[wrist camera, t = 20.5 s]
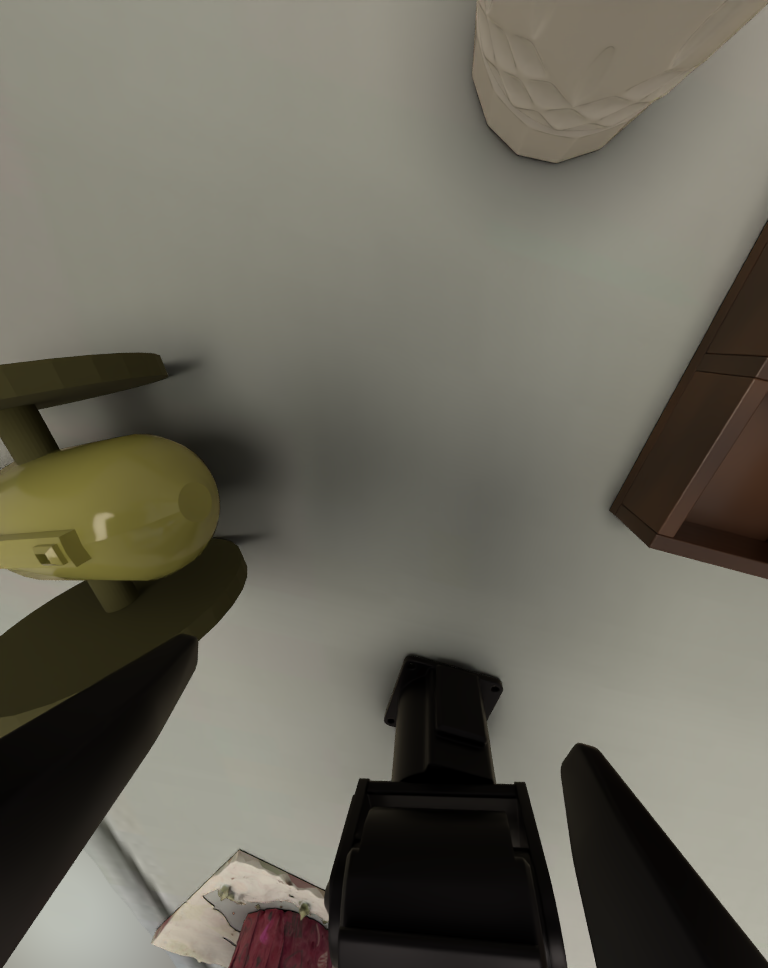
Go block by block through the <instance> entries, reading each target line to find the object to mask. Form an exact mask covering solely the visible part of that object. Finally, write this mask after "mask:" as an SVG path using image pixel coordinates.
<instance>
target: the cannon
mask: <svg viewBox="0 0 768 968" xmlns="http://www.w3.org/2000/svg"><path fill="white" fill-rule="evenodd" d="M167 377H168V374H167V371H166V369H165V366H164V364H163V362H162V359H161V357H160V355H157V354H153V353H113V354H98V355H85V356H74V357H64V358H54V359H44V360H36V361H28V362H19V363H11V364H3V365H0V437H1V439H2V441H3V442H4V444H5V446H6V447H7V449H8V451H9V452H10V454H11V456H12V457H13V459H14V462H13V463H11V464H9V465H8V466H6V467H5V468H3V469H2V470H1V471H0V569H8V570H10V571H12V572H14V573H17V574H19V575H22V576H24V577H29V578H33V579H38V580H85V581H83V582H81V583H80V584H78V585H76V586H74V587H72V588H71V589H69V590H67V591H65V592H64V593H62V594H60V595H59V596H57V597H55V598H53V599H52V600H50V601H49V602H47V603H46V604H44V605H43V606H41V607H40V608H38V609H37V610H35V611H33V612H32V613H30V614H29V615H28V616H26V617H25V618H24V619H22V620H21V621H20V622H18V623H17V624H15V625H14V626H13V627H11V628H10V629H9V630H7V631H6V632H5V633H4V634H3V635H2V636H0V738H1V737H3V736H5V735H7V734H8V733H10V732H12V731H13V730H15V729H17V728H18V727H20V726H22V725H24V724H25V723H27V722H29V721H30V720H32V719H34V718H36V717H37V716H39V715H41V714H42V713H44V712H46V711H48V710H49V709H51V708H53V707H54V706H56V705H58V704H59V703H61V702H63V701H65V700H66V699H68V698H70V697H71V696H73V695H75V694H77V693H78V692H80V691H82V690H83V689H85V688H87V687H88V686H90V685H92V684H94V683H95V682H97V681H99V680H100V679H102V678H104V677H106V676H107V675H109V674H111V673H112V672H114V671H116V670H118V669H119V668H121V667H123V666H124V665H126V664H128V663H129V662H131V661H133V660H135V659H136V658H138V657H140V656H141V655H143V654H145V653H147V652H148V651H150V650H152V649H153V648H155V647H157V646H159V645H160V644H162V643H164V642H165V641H167V640H169V639H170V638H172V637H174V636H176V635H178V634H181V633H183V634H187V635H191V636H195V637H197V639H198V641H199V640H200V639H201V638H202V637H203V636H205V635H206V634H207V633H208V632H209V631H210V630H211V629H212V628H213V627H214V626H215V625H216V624H217V623H218V622H219V621H220V620H221V619H222V617H223V616H224V615H225V614H226V613H227V611H228V610H229V609H230V608H231V607H232V606H233V604H234V603H235V601H236V599H237V598H238V596H239V595H240V593H241V591H242V590H243V587H244V584H245V581H246V578H247V565H246V563H245V560H244V558H243V555H242V553H241V551H240V549H239V547H238V546H237V545H236V544H234V543H233V542H231V541H227V540H224V539H212V537H213V536H214V534H215V531H216V527H217V524H218V519H219V513H220V498H219V492H218V489H217V485H216V482H215V480H214V478H213V476H212V474H211V472H210V470H209V468H208V467H207V466H206V464H205V463H204V461H203V460H202V459H201V458H200V457H199V456H198V455H197V454H196V453H194V452H193V451H191V450H190V449H188V448H187V447H185V446H183V445H181V444H179V443H176V442H174V441H172V440H169V439H167V438H165V437H161V436H157V435H152V434H132V435H127V436H122V437H117V438H112V439H107V440H102V441H97V442H92V443H87V444H82V445H77V446H72V447H67V448H62V449H59V447H58V445H57V443H56V442H55V440H54V438H53V436H52V434H51V433H50V431H49V429H48V427H47V425H46V424H45V422H44V420H43V418H42V416H41V414H40V413H39V411H38V410H39V409H44V408H48V407H53V406H58V405H62V404H67V403H71V402H76V401H80V400H85V399H89V398H93V397H98V396H102V395H106V394H111V393H115V392H119V391H123V390H127V389H131V388H135V387H139V386H142V385H146V384H149V383H153V382H156V381H159V380H162V379H165V378H167Z"/></svg>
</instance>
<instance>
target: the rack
mask: <svg viewBox="0 0 768 968" xmlns="http://www.w3.org/2000/svg"><path fill="white" fill-rule="evenodd" d="M610 511H611V512H612V513H613V514H614V515H615V516H616V517H617V518H618V519H619V520H620V521H621V522H623V523H624V524H625V525H626V526H627V527H628V528H629V529H630V530H631V531H632V532H633V533H634V534H635V535H636V536H637V537H638V538H639V539H641V540H642V541H643V542H644V543H645V544H646V545H647V546H648V547H649V548H653V549H657V550H660V551H664V552H668V553H672V554H675V555H679V556H683V557H687V558H690V559H694V560H698V561H702V562H705V563H709V564H713V565H717V566H720V567H724V568H728V569H732V570H735V571H739V572H743V573H747V574H751V575H754V576H758V577H762V578H766V579H768V222H767V223H766V225H765V227H764V229H763V231H762V233H761V234H760V236H759V238H758V240H757V242H756V243H755V245H754V247H753V249H752V251H751V253H750V254H749V256H748V258H747V260H746V262H745V264H744V265H743V267H742V269H741V271H740V273H739V275H738V276H737V278H736V280H735V282H734V284H733V286H732V287H731V289H730V291H729V293H728V295H727V296H726V298H725V300H724V302H723V304H722V306H721V307H720V309H719V311H718V313H717V315H716V317H715V318H714V320H713V322H712V324H711V326H710V328H709V329H708V331H707V333H706V335H705V337H704V339H703V340H702V342H701V344H700V346H699V348H698V350H697V351H696V353H695V355H694V357H693V359H692V360H691V362H690V364H689V366H688V368H687V370H686V371H685V373H684V375H683V377H682V379H681V381H680V382H679V384H678V386H677V388H676V390H675V392H674V393H673V395H672V397H671V399H670V401H669V403H668V404H667V406H666V408H665V410H664V412H663V413H662V415H661V417H660V419H659V421H658V423H657V424H656V426H655V428H654V430H653V432H652V434H651V435H650V437H649V439H648V441H647V443H646V445H645V446H644V448H643V450H642V452H641V454H640V456H639V457H638V459H637V461H636V463H635V465H634V466H633V468H632V470H631V472H630V474H629V476H628V477H627V479H626V481H625V483H624V485H623V487H622V488H621V490H620V492H619V494H618V496H617V498H616V499H615V501H614V503H613V505H612V507H611V509H610Z"/></svg>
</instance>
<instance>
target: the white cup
mask: <svg viewBox="0 0 768 968" xmlns="http://www.w3.org/2000/svg"><path fill="white" fill-rule="evenodd" d="M767 4H768V0H477V6H476V18H475V34H474V51H473V68H472V77H473V81H474V84H475V87H476V90H477V93H478V97H479V100H480V103H481V106H482V109H483V112H484V116H485V119H486V122H487V124H488V126H489V127H490V128H491V129H492V130H493V131H494V132H495V133H496V134H497V135H498V136H499V137H500V138H501V139H502V140H503V141H504V142H505V143H506V144H507V145H508V146H509V147H510V148H511V149H512V150H513V151H514V152H515V153H516V154H517V155H521V156H526V157H530V158H535V159H539V160H544V161H548V162H553V163H559V162H562V161H565V160H568V159H571V158H574V157H577V156H580V155H583V154H586V153H589V152H593V151H596V150H599V149H601V148H602V147H603V146H604V145H605V144H607V143H608V142H609V141H610V140H611V139H612V138H613V137H615V136H616V135H617V134H618V133H619V132H620V131H621V130H622V129H624V128H625V127H626V126H627V125H628V124H629V123H630V122H632V121H633V120H634V119H635V118H636V117H637V116H638V115H639V114H641V113H642V112H643V111H644V110H645V109H646V108H647V107H648V106H649V105H650V104H651V103H652V102H654V101H656V100H658V99H660V98H662V97H663V96H665V95H666V94H668V93H669V92H670V91H671V90H672V89H673V88H674V87H676V86H677V85H678V84H679V83H680V82H681V81H682V80H683V79H684V78H685V77H686V76H687V75H689V74H690V73H691V72H692V71H694V70H695V69H696V68H697V67H699V66H700V65H701V64H702V63H704V62H705V61H707V60H708V59H709V57H710V56H712V55H713V54H714V53H715V52H716V51H717V50H718V49H719V48H720V47H721V46H722V45H724V44H725V43H726V42H727V41H728V40H729V39H730V38H731V37H732V36H733V35H734V34H736V33H737V32H738V31H739V30H740V29H741V28H742V27H743V26H744V25H745V24H746V23H748V22H749V21H750V20H751V19H752V18H753V17H754V16H755V15H756V14H757V13H758V12H760V11H761V10H762V9H763V8H764V7H765V6H766V5H767Z"/></svg>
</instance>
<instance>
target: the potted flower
mask: <svg viewBox="0 0 768 968" xmlns="http://www.w3.org/2000/svg"><path fill="white" fill-rule="evenodd" d="M215 889H217V890H218V895H219V897H221V901H222V900H224V899H225V898H227V899H228V898H229V899H230V900H231V901H234V902H236V903H237V904H241V905H242V904H244V905H246V904H247V902H257V903H258V902H262V903H269V902H272V901H276V900H279V901H280V902H282V901H287V902H291V903H293V904H295V905H296V907H298V908H299V913H300V912H301V913H300V914H298V913H295V912H291V911H287V912H284V911H283V910H278V909H276V908H275V909H266V911H262V910H259V911H258V912H254V913H252V914H248V915H247V917H246V920H244V924H243V927H242V930H241V932H240V933H239V932H237V931H235V930H234V929H233V928H231V927H230V926H229V924H228V922H227V921H226V919H225V917H224V916H223V915H222V914H221V913H220V912H219V911H217V910H213V908H214V906H213V905H211V904H210V903H209V902H207V901H206V900H205V899H204V898H203V895H206V894H208V892H213V891H214V890H215ZM289 894H291V895H293V896H294V898H293V897H289ZM324 895H325V891H323V890H321V889H319V888H317V887H315V886H313V885H311V884H309V883H306V882H304V881H302V880H300V879H298V878H296V877H294V876H292V875H290V874H288V873H286V872H284V871H282V870H280V869H278V868H275V867H273V866H271V865H269V864H267V863H265V862H263V861H261V860H259V859H257V858H255V857H253V856H251V855H249V854H246V853H244V852H242V851H240V850H239V851H238V852H237V853H236V854H235V855H234V856H233V857H232V858H231V859H230V860H229V861H227V862H226V863H225V864H224V865H223V866H222V867H221V868H220V869H219V870H218V871H217V872H216V873H215V874H214V875H213V876H212V877H211V878H210V879H209V880H208V881H207V882H206V883H205V884H204V885H203V886H202V887H201V888H200V889H199V890H198V891H197V892H196V893H195V894H193V895H192V896H191V897H190V898H189V899H188V900H187V903H184V904H183V905H182V906H181V907H180V908H179V909H178V910H176V911H175V912H174V913H173V914H172V915H171V916H170V917H169V918H168V919H167V920H166V921H165V922H164V923H163V924H162V925H161V926H160V927H159V928H158V929H157V930H156V932H155V935H154V936H153V939H152V942H151V944H153V945H155V946H159V947H160V948H163V949H165V950H167V951H170V952H173V953H176V954H180V955H181V956H190V957H194V958H195V959H197V961H198V963H200V962H201V961H202V962H205V963H208V964H213V963H214V964H219V965H221V966H223V967H225V968H335V967H334V966H333V965H332V963H331V959H330V953H329V940H328V930H326V929H325V928H324V926H322V925H321V924H319V923H318V922H316V921H315V920H313V919H312V920H311V919H309V918H308V917H305V915H308V914H310V913H313V914H317V915H318V916H319V917H321V918H322V921H323V924H326V923H327V922H329V915H328V913H327V911H326V908H325V906H324ZM255 908H257V909H260V907H259V904H257V906H255ZM280 908H282V906H280ZM234 914H235V913H233V915H234ZM310 916H311V914H310ZM222 937H225V938H228V939H229V940H230V941H232V942H233V943H234V944H235V945H237V946H236V947H235V946H233V945H231V943H229V942H228V941H227V940H225V939H224V938H222Z"/></svg>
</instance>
